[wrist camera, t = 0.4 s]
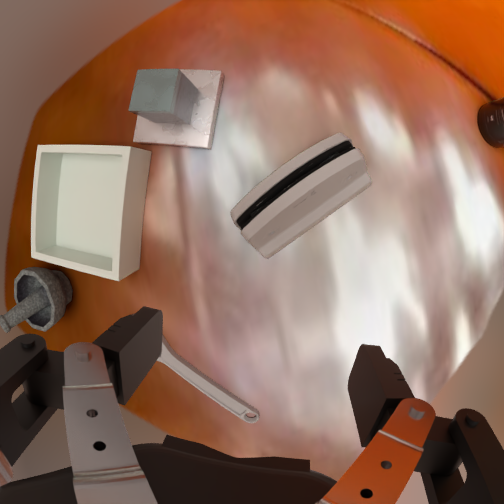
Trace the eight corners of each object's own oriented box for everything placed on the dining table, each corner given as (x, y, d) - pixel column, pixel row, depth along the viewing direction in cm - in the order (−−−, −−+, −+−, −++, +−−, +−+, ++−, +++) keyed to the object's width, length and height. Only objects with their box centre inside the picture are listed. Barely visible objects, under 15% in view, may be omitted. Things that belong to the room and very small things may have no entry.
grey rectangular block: (161, 87, 34) (137, 69, 27) (197, 88, 33) (178, 68, 26) (154, 122, 35) (128, 110, 28) (190, 124, 34) (169, 111, 27)
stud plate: (153, 74, 35) (131, 57, 28) (224, 76, 34) (212, 55, 28) (139, 143, 37) (114, 136, 31) (211, 149, 37) (195, 141, 30)
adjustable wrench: (263, 411, 44) (263, 418, 42) (236, 428, 46) (235, 435, 44) (141, 306, 42) (136, 310, 41) (120, 330, 44) (115, 335, 42)
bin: (63, 147, 38) (37, 145, 33) (151, 151, 37) (130, 146, 31) (55, 249, 42) (31, 257, 36) (139, 268, 41) (118, 281, 35)
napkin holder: (265, 260, 39) (238, 254, 29) (245, 230, 40) (213, 215, 30) (373, 183, 35) (381, 152, 26) (350, 155, 36) (349, 117, 27)
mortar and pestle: (59, 248, 42) (7, 266, 30) (90, 298, 43) (42, 328, 31) (29, 282, 44) (-17, 303, 32) (56, 326, 45) (13, 355, 33)
